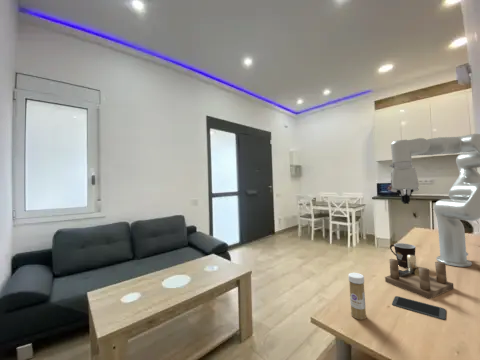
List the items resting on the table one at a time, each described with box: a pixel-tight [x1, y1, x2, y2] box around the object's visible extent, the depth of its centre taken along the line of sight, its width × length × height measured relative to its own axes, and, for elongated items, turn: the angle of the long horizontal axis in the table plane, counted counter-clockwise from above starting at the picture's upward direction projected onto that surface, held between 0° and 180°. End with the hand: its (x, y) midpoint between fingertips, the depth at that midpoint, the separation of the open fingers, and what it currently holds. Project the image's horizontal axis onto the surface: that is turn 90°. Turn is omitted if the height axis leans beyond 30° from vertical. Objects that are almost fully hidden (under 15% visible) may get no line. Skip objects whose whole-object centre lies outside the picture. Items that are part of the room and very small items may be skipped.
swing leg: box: [399, 255, 418, 277], centre depth 95 cm, size 10×3×7 cm, turn 108°
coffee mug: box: [389, 242, 417, 269], centre depth 110 cm, size 12×9×10 cm
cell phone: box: [391, 295, 447, 321], centre depth 74 cm, size 7×14×1 cm, turn 46°
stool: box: [384, 258, 454, 300], centre depth 89 cm, size 16×16×10 cm
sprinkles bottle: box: [347, 272, 367, 320], centre depth 72 cm, size 5×5×14 cm
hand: (405, 203), depth 105 cm, fingers closed
